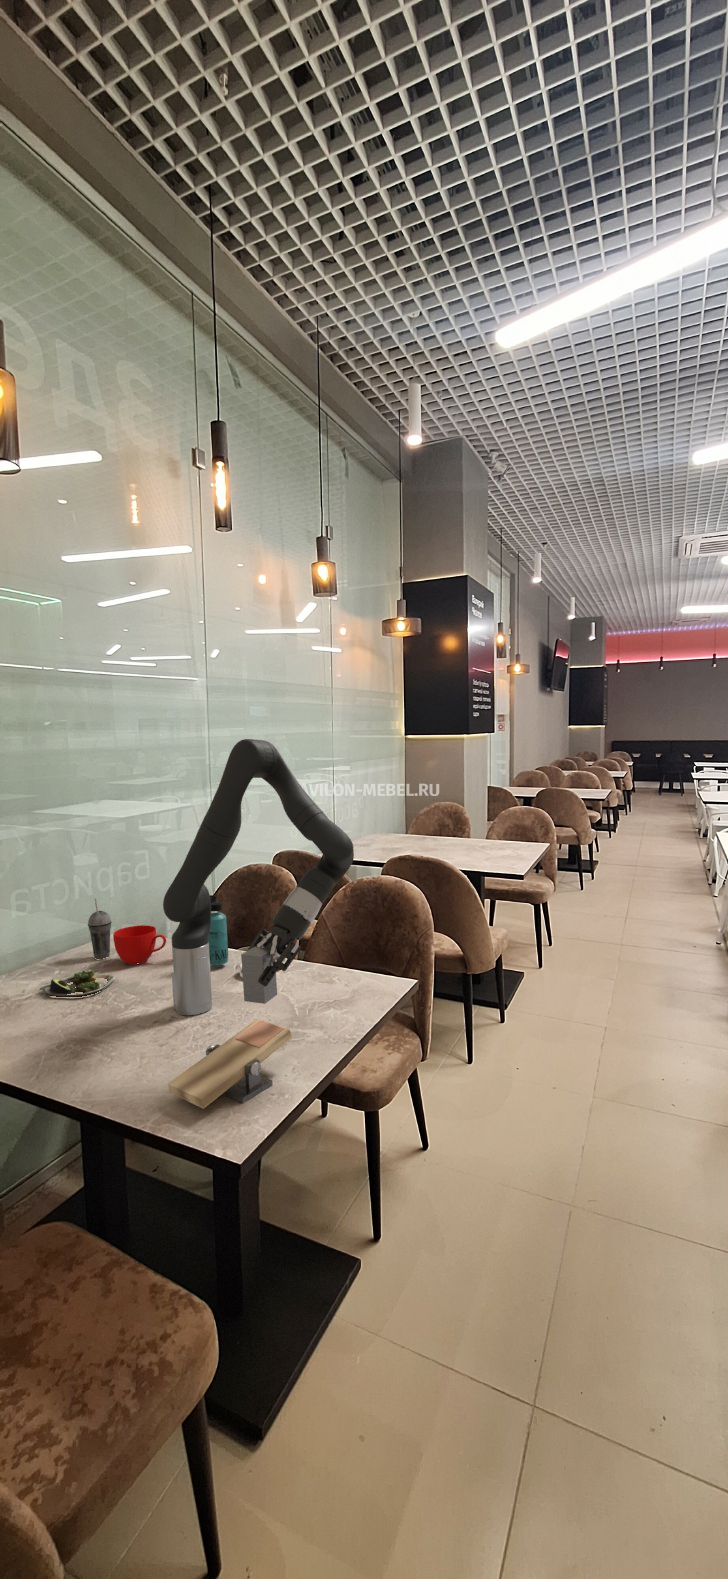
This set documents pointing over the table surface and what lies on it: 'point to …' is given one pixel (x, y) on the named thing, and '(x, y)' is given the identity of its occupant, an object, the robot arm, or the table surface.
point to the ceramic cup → (136, 943)
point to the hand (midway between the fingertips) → (252, 979)
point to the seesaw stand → (246, 1081)
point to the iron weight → (257, 976)
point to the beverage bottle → (218, 936)
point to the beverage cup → (100, 933)
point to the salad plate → (77, 984)
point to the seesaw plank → (228, 1063)
